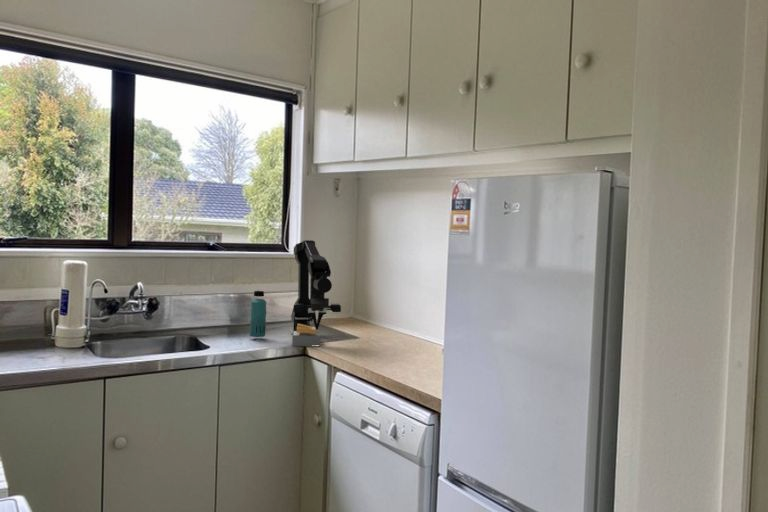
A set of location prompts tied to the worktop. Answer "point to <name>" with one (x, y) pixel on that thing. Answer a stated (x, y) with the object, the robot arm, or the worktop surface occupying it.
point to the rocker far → (304, 326)
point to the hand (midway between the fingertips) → (316, 329)
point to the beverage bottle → (258, 316)
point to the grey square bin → (305, 339)
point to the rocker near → (306, 330)
